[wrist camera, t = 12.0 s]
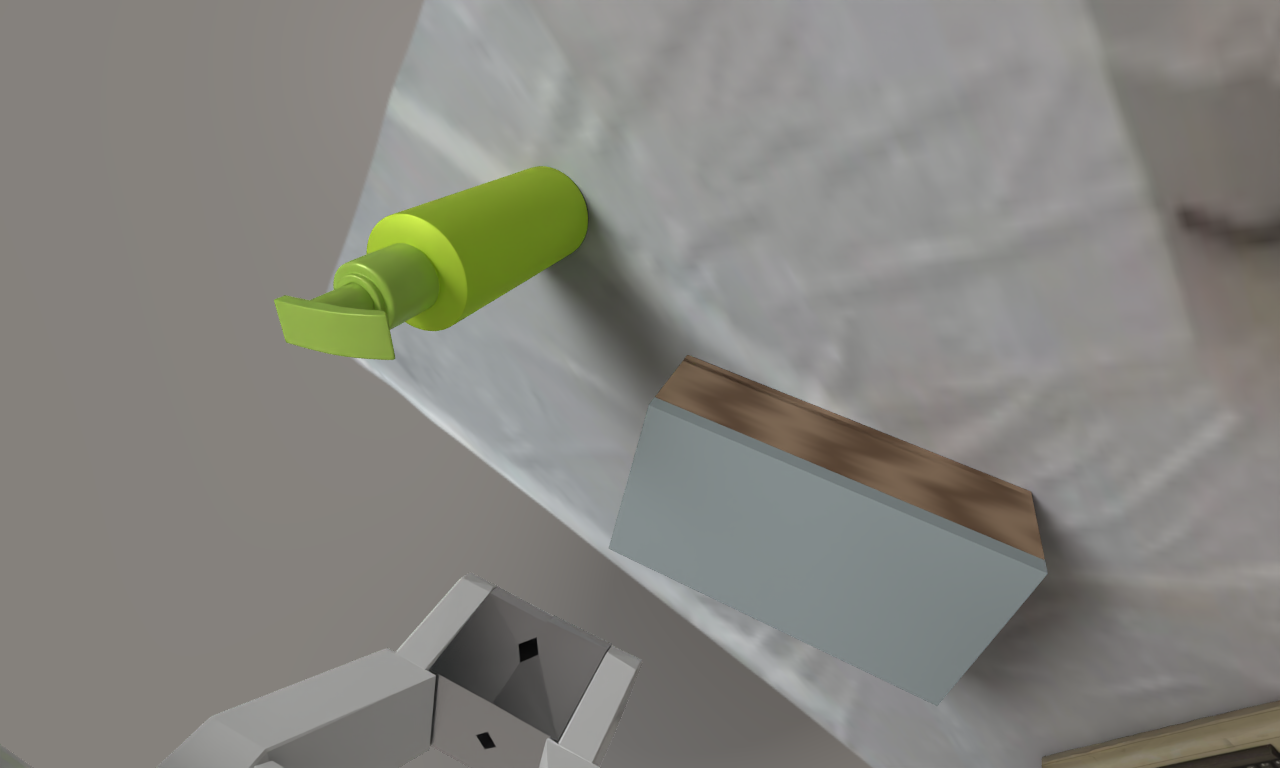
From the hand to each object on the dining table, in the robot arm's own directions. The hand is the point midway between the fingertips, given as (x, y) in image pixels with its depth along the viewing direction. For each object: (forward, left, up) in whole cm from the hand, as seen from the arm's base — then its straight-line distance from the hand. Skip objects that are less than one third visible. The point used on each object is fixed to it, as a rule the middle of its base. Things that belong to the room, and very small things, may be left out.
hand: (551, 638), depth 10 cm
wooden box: (-6, +18, -31) cm, 36 cm away
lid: (-6, +18, -25) cm, 31 cm away
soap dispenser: (+16, +6, -31) cm, 36 cm away
